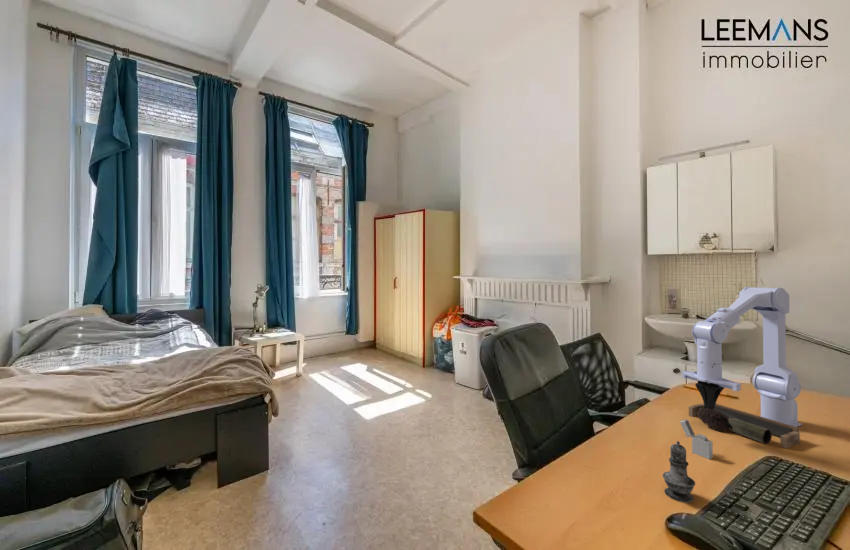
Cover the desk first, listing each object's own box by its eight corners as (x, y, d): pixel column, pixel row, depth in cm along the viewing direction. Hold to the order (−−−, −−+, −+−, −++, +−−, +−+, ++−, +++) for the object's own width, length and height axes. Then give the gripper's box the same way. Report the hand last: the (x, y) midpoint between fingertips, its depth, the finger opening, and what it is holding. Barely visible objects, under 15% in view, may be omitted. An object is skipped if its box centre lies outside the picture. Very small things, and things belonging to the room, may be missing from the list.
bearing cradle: (703, 411, 124) (703, 399, 124) (801, 442, 101) (801, 428, 101) (688, 415, 121) (688, 403, 121) (786, 448, 98) (786, 433, 98)
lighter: (713, 457, 94) (712, 427, 94) (709, 459, 93) (709, 428, 93) (683, 446, 100) (683, 417, 100) (679, 447, 99) (679, 419, 99)
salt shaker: (656, 488, 81) (655, 435, 81) (680, 486, 82) (679, 434, 82) (676, 504, 76) (676, 448, 75) (702, 502, 76) (701, 446, 76)
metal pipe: (772, 443, 102) (772, 423, 102) (759, 448, 99) (759, 427, 99) (703, 419, 118) (703, 402, 118) (691, 423, 116) (690, 406, 116)
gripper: (675, 358, 111) (675, 402, 111) (729, 369, 97) (730, 419, 97) (689, 356, 113) (690, 398, 113) (745, 366, 100) (745, 415, 100)
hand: (709, 408), depth 106 cm, fingers closed
